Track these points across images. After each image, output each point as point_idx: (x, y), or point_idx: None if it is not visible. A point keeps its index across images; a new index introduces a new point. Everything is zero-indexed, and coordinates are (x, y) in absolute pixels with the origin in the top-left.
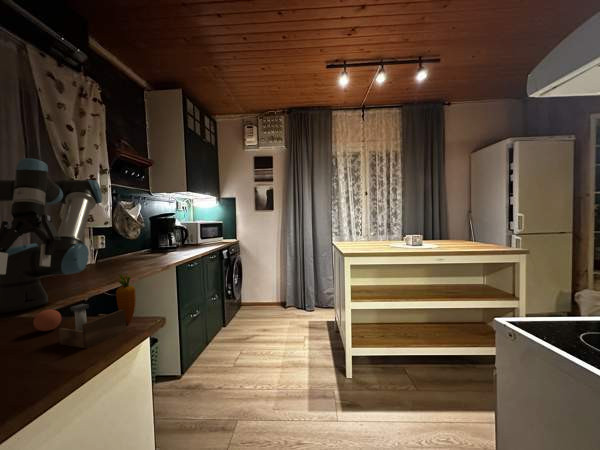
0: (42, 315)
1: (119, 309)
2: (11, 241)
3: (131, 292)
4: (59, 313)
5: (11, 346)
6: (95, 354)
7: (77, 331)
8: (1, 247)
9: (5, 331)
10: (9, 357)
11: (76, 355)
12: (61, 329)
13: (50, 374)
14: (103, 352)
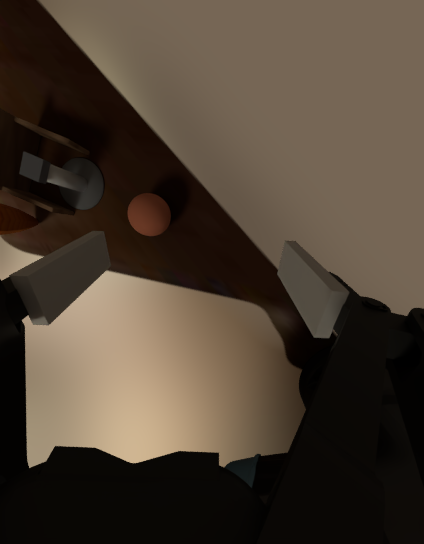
0: (139, 197)
1: (10, 207)
2: (314, 392)
3: None
4: (131, 224)
5: (165, 153)
6: (10, 107)
7: (26, 121)
8: (344, 323)
9: (240, 227)
10: (130, 110)
11: (34, 107)
12: (63, 137)
13: (26, 50)
14: None
